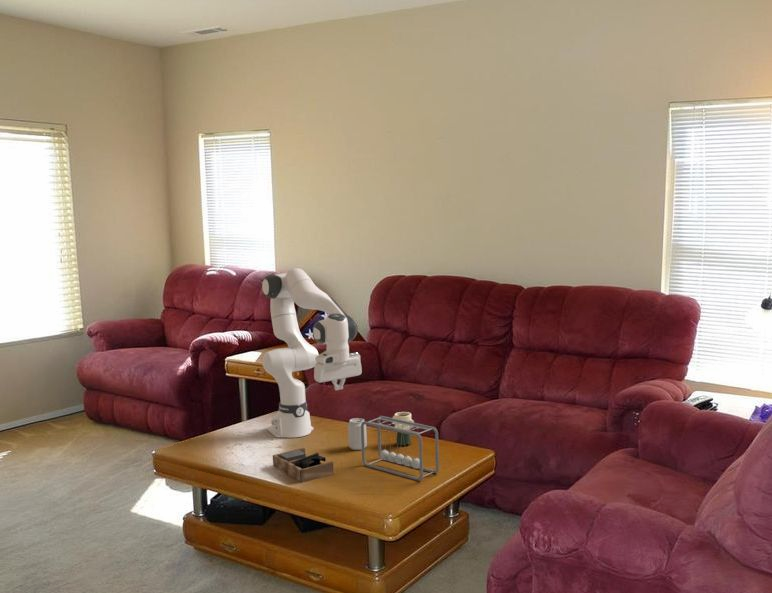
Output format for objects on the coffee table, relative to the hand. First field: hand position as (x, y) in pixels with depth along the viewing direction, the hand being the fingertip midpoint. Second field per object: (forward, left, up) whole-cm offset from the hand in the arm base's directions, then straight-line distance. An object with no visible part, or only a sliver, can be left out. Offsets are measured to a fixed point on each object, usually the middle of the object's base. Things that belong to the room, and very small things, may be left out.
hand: (338, 389), depth 296 cm
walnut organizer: (+2, -18, -28) cm, 33 cm away
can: (-6, +12, -28) cm, 31 cm away
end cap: (+8, -19, -28) cm, 35 cm away
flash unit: (-3, -20, -28) cm, 35 cm away
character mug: (+3, +29, -28) cm, 40 cm away
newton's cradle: (+26, +9, -28) cm, 40 cm away
